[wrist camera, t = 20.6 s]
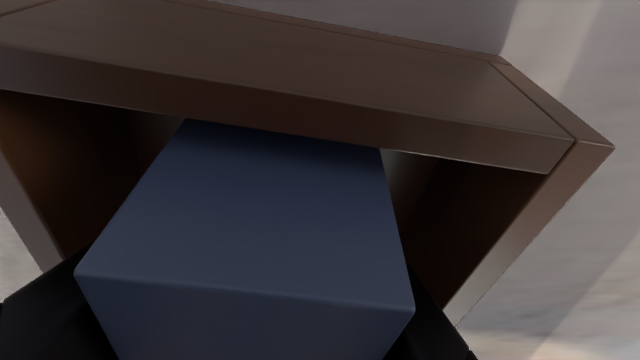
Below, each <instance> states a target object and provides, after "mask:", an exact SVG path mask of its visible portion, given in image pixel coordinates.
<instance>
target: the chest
mask: <svg viewBox="0 0 640 360" xmlns="http://www.w3.org/2000/svg"><path fill="white" fill-rule="evenodd" d="M185 118H188V119H195V120H201V121H208V122H214V123H220V124H227V125H233V126H240V127H246V128H253V129H259V130H265V131H272V132H278V133H285V134H291V135H297V136H304V137H310V138H317V139H323V140H329V141H336V142H342V143H349V144H355V145H361V146H368V147H374V148H380V152H381V157H382V161H383V166H384V170H385V174H386V179H387V183H388V188H389V192H390V196H391V201H392V205H393V210H394V214H395V218H396V223H397V227H398V232H399V236H400V240H401V245H402V249H403V254H404V258H405V259H406V260H407V262H408V263H409V265H410V266H411V267H412V269H413V270H414V272H415V273H416V274H417V276H418V277H419V279H420V280H421V281H422V283H423V284H424V285H425V287H426V288H427V290H428V291H429V292H430V294H431V295H432V297H433V298H434V299H435V301H436V302H437V304H438V305H439V306H440V308H441V309H442V310H443V312H444V313H445V315H446V316H447V317H448V319H449V320H450V322H451V323H452V324H453V326H454V327H455V326H456V325H457V324H458V323H459V322H460V320H461V319H462V318H463V317H464V316H465V315H466V314H467V313H468V312H469V310H470V309H471V308H472V307H473V306H474V305H475V304H476V303H477V302H478V300H479V299H480V298H481V297H482V296H483V295H484V294H485V293H486V292H487V290H488V289H489V288H490V287H491V286H492V285H493V284H494V283H495V282H496V280H497V279H498V278H499V277H500V276H501V275H502V274H503V273H504V272H505V270H506V269H507V268H508V267H509V266H510V265H511V264H512V263H513V262H514V260H515V259H516V258H517V257H518V256H519V255H520V254H521V253H522V252H523V250H524V249H525V248H526V247H527V246H528V245H529V244H530V243H531V242H532V240H533V239H534V238H535V237H536V236H537V235H538V234H539V233H540V232H541V231H542V229H543V228H544V227H545V226H546V225H547V224H548V223H549V222H550V221H551V219H552V218H553V217H554V216H555V215H556V214H557V213H558V212H559V211H560V209H561V208H562V207H563V206H564V205H565V204H566V203H567V202H568V201H569V199H570V198H571V197H572V196H573V195H574V194H575V193H576V192H577V191H578V189H579V188H580V187H581V186H582V185H583V184H584V183H585V182H586V181H587V179H588V178H589V177H590V176H591V175H592V174H593V173H594V172H595V171H596V169H597V168H598V167H599V166H600V165H601V164H602V163H603V162H604V161H605V159H606V158H607V157H608V156H609V155H610V154H611V153H612V152H613V151H614V149H615V146H614V145H613V144H612V143H611V142H609V141H608V140H607V139H606V138H604V137H603V136H602V135H600V134H599V133H598V132H597V131H595V130H594V129H593V128H592V127H590V126H589V125H588V124H586V123H585V122H584V121H583V120H581V119H580V118H579V117H578V116H576V115H575V114H574V113H572V112H571V111H570V110H569V109H567V108H566V107H565V106H563V105H562V104H561V103H560V102H558V101H557V100H556V99H555V98H553V97H552V96H551V95H549V94H548V93H547V92H546V91H544V90H543V89H542V88H541V87H539V86H538V85H537V84H535V83H534V82H533V81H532V80H530V79H529V78H528V77H526V76H525V75H524V74H523V73H521V72H520V71H519V70H518V69H516V68H515V67H514V66H512V65H511V64H510V63H509V62H507V61H506V60H505V59H503V58H502V57H501V56H495V55H490V54H485V53H479V52H474V51H469V50H464V49H458V48H453V47H448V46H442V45H437V44H432V43H427V42H421V41H416V40H411V39H405V38H400V37H395V36H390V35H384V34H379V33H374V32H368V31H363V30H358V29H353V28H347V27H342V26H337V25H331V24H326V23H321V22H316V21H310V20H305V19H300V18H294V17H289V16H284V15H279V14H273V13H268V12H263V11H257V10H252V9H247V8H242V7H236V6H231V5H226V4H220V3H215V2H210V1H205V0H0V207H1V208H2V210H3V212H4V213H5V215H6V216H7V218H8V219H9V221H10V222H11V224H12V226H13V227H14V229H15V230H16V232H17V233H18V235H19V236H20V238H21V240H22V241H23V243H24V244H25V246H26V247H27V249H28V250H29V252H30V254H31V255H32V257H33V258H34V260H35V261H36V263H37V264H38V266H39V268H40V269H41V271H42V272H43V274H44V273H45V272H47V271H48V270H50V269H51V268H53V267H54V266H56V265H57V264H59V263H60V262H62V261H63V260H65V259H66V258H68V257H69V256H71V255H72V254H74V253H75V252H77V251H78V250H80V249H81V248H83V247H84V246H86V245H87V244H89V243H90V242H92V241H93V240H95V239H96V238H98V237H99V235H100V234H101V232H102V231H103V230H104V228H105V227H106V226H107V224H108V223H109V221H110V220H111V219H112V217H113V216H114V215H115V213H116V212H117V211H118V209H119V208H120V206H121V205H122V204H123V202H124V201H125V200H126V198H127V197H128V195H129V194H130V193H131V191H132V190H133V189H134V187H135V186H136V185H137V183H138V182H139V180H140V179H141V178H142V176H143V175H144V174H145V172H146V171H147V169H148V168H149V167H150V165H151V164H152V163H153V161H154V160H155V158H156V157H157V156H158V154H159V153H160V152H161V150H162V149H163V148H164V146H165V145H166V143H167V142H168V141H169V139H170V138H171V137H172V135H173V134H174V132H175V131H176V130H177V128H178V127H179V126H180V124H181V123H182V122H183V120H184V119H185Z"/></svg>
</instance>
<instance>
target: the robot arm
mask: <svg viewBox="0 0 640 360" xmlns="http://www.w3.org/2000/svg"><path fill="white" fill-rule="evenodd" d="M96 239H97V238H96ZM96 239H95V240H93V241H92V242H90V243H89V244H87V245H86V246H84V247H83V248H81V249H80V250H78V251H77V252H75V253H74V254H72V255H71V256H69V257H68V258H66V259H65V260H63V261H62V262H60V263H59V264H57V265H56V266H54V267H53V268H51V269H50V270H48V271H47V272H45V273H44V274H42V275H41V276H39V277H38V278H36V279H35V280H33V281H31V282H30V283H28V284H27V285H25V286H24V287H22V288H21V289H19V290H18V291H16V292H15V293H13V294H12V295H10V296H9V297H7V298H6V299H5V300H4V301H3V303H0V360H119V359H118V357H117V355H116V353H115V351H114V350H113V348H112V346H111V344H110V342H109V340H108V338H107V337H106V335H105V333H104V331H103V329H102V327H101V326H100V324H99V322H98V320H97V318H96V316H95V314H94V313H93V311H92V309H91V307H90V305H89V303H88V302H87V300H86V298H85V296H84V294H83V292H82V290H81V289H80V287H79V285H78V283H77V281H76V279H75V278H74V270H75V268H76V267H77V265H78V264H79V263H80V261H81V260H82V258H83V257H84V256H85V254H86V253H87V252H88V250H89V249H90V247H91V246H92V245H93V243H94V242H95V241H96ZM405 262H406V267H407V271H408V276H409V280H410V285H411V289H412V293H413V298H414V302H415V307H416V310H415V314H414V315H413V316H412V318H411V319H410V321H409V322H408V324H407V325H406V327H405V328H404V329H403V331H402V332H401V334H400V335H399V337H398V338H397V339H396V341H395V342H394V344H393V345H392V347H391V348H390V350H389V351H388V352H387V354H386V355H385V357H384V358H383V360H478V359H477V358H476V356H475V355H474V353H473V352H472V351H471V350H469V347H468V345H467V344H466V342H465V341H464V340H463V338H462V337H461V336H460V334H459V333H458V331H457V330H456V329H455V327H454V326H453V324H452V323H451V322H450V320H449V319H448V317H447V316H446V315H445V313H444V312H443V310H442V309H441V308H440V306H439V305H438V304H437V302H436V301H435V299H434V298H433V297H432V295H431V294H430V292H429V291H428V290H427V288H426V287H425V285H424V284H423V283H422V281H421V280H420V279H419V277H418V276H417V274H416V273H415V272H414V270H413V269H412V267H411V266H410V265H409V263H408V262H407V260H406V259H405ZM468 350H469V351H468Z"/></svg>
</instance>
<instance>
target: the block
mask: <svg viewBox="0 0 640 360" xmlns="http://www.w3.org/2000/svg"><path fill="white" fill-rule="evenodd" d="M74 278H75V279H76V281H77V283H78V285H79V287H80V289H81V290H82V292H83V294H84V296H85V298H86V300H87V302H88V303H89V305H90V307H91V309H92V311H93V313H94V314H95V316H96V318H97V320H98V322H99V324H100V326H101V327H102V329H103V331H104V333H105V335H106V337H107V338H108V340H109V342H110V344H111V346H112V348H113V350H114V351H115V353H116V355H117V357H118V359H119V360H383V358H384V357H385V355H386V354H387V352H388V351H389V350H390V348H391V347H392V345H393V344H394V342H395V341H396V339H397V338H398V337H399V335H400V334H401V332H402V331H403V329H404V328H405V327H406V325H407V324H408V322H409V321H410V319H411V318H412V316H413V315H414V314H415V310H416V307H415V302H414V298H413V293H412V289H411V285H410V280H409V276H408V271H407V267H406V262H405V258H404V254H403V249H402V245H401V240H400V236H399V232H398V227H397V223H396V218H395V214H394V210H393V205H392V201H391V196H390V192H389V188H388V183H387V179H386V174H385V170H384V166H383V161H382V157H381V152H380V148H374V147H368V146H361V145H355V144H349V143H342V142H336V141H329V140H323V139H317V138H310V137H304V136H297V135H291V134H285V133H278V132H272V131H265V130H259V129H253V128H246V127H240V126H233V125H227V124H220V123H214V122H208V121H201V120H195V119H188V118H185V119H184V120H183V122H182V123H181V124H180V126H179V127H178V128H177V130H176V131H175V132H174V134H173V135H172V137H171V138H170V139H169V141H168V142H167V143H166V145H165V146H164V148H163V149H162V150H161V152H160V153H159V154H158V156H157V157H156V158H155V160H154V161H153V163H152V164H151V165H150V167H149V168H148V169H147V171H146V172H145V174H144V175H143V176H142V178H141V179H140V180H139V182H138V183H137V185H136V186H135V187H134V189H133V190H132V191H131V193H130V194H129V195H128V197H127V198H126V200H125V201H124V202H123V204H122V205H121V206H120V208H119V209H118V211H117V212H116V213H115V215H114V216H113V217H112V219H111V220H110V221H109V223H108V224H107V226H106V227H105V228H104V230H103V231H102V232H101V234H100V235H99V237H98V238H97V239H96V241H95V242H94V243H93V245H92V246H91V247H90V249H89V250H88V252H87V253H86V254H85V256H84V257H83V258H82V260H81V261H80V263H79V264H78V265H77V267H76V268H75V270H74Z"/></svg>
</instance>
